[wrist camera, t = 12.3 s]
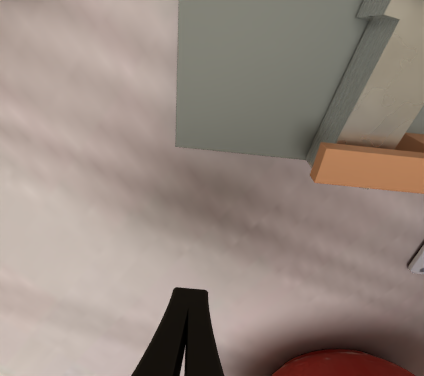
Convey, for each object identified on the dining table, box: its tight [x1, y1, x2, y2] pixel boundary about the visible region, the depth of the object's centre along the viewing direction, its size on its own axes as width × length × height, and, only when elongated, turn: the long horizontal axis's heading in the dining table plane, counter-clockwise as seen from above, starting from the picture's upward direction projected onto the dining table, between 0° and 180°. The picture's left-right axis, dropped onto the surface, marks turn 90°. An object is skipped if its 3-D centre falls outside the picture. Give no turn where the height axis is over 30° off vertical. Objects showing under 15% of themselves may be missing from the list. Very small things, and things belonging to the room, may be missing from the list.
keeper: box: [310, 133, 424, 194], centre depth 14 cm, size 8×2×5 cm, turn 85°
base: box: [175, 0, 424, 160], centre depth 11 cm, size 15×13×6 cm
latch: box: [305, 0, 424, 189], centre depth 12 cm, size 12×4×2 cm, turn 167°
